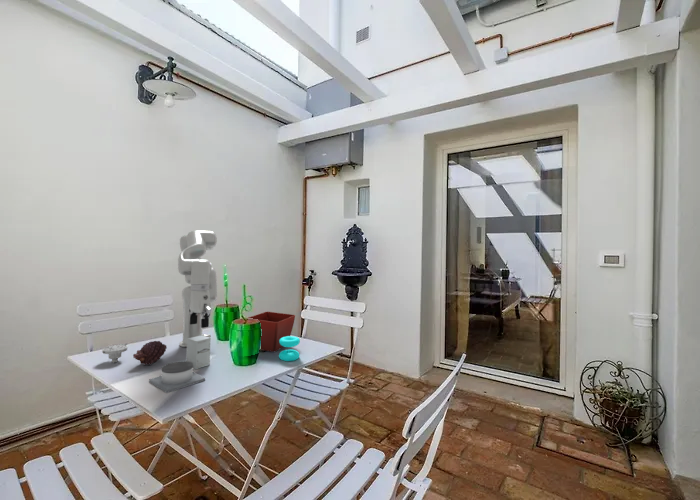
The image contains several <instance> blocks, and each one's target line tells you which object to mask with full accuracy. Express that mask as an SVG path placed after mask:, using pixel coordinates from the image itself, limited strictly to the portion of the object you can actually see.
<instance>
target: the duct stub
mask: <svg viewBox="0 0 700 500" xmlns="http://www.w3.org/2000/svg"><path fill="white" fill-rule="evenodd" d="M148 381H149V383H151V384H152V385H154V386H155V387H157V388H159V389H160V390H162V391H163V392H164V393H167V394H169V393H171V392H174V391H176V390H180V389H183V388H186V387H188V386H192V385H195V384H199V383H201V382H204V381H206V377H204V376H202V375H200V374H198V373H196V372H195V371H194V369H193V363H192V362H188V361H186V360H184V361H183V360H180V361H173V362H169V363H166V364H164V365H163V366H162V367H161V375H159V376H156V377H152V378H149V379H148Z"/></svg>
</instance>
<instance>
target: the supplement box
mask: <svg viewBox="0 0 700 500" xmlns="http://www.w3.org/2000/svg"><path fill="white" fill-rule="evenodd" d="M211 340H212V339H211V337H210V338H209V337H206V336H202V335H201V336H196V337H192V338H188V339H187V347H186V354H185V355H186V359H185V361H188V362H192V363H193V370H197V369H200V368H203V367H206V366H210V364H211Z"/></svg>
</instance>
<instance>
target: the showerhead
mask: <svg viewBox="0 0 700 500" xmlns="http://www.w3.org/2000/svg"><path fill="white" fill-rule="evenodd" d="M126 351H128V342H127V343H124V344H115V345H114V344H113V345H107V346H105V347H104V348H103V349H102V351H101V352H102V353H103V354H104V355H108V359H109V360H111V363H117V362H118V360H119V358H121V357H122V353H125V352H126Z"/></svg>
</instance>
